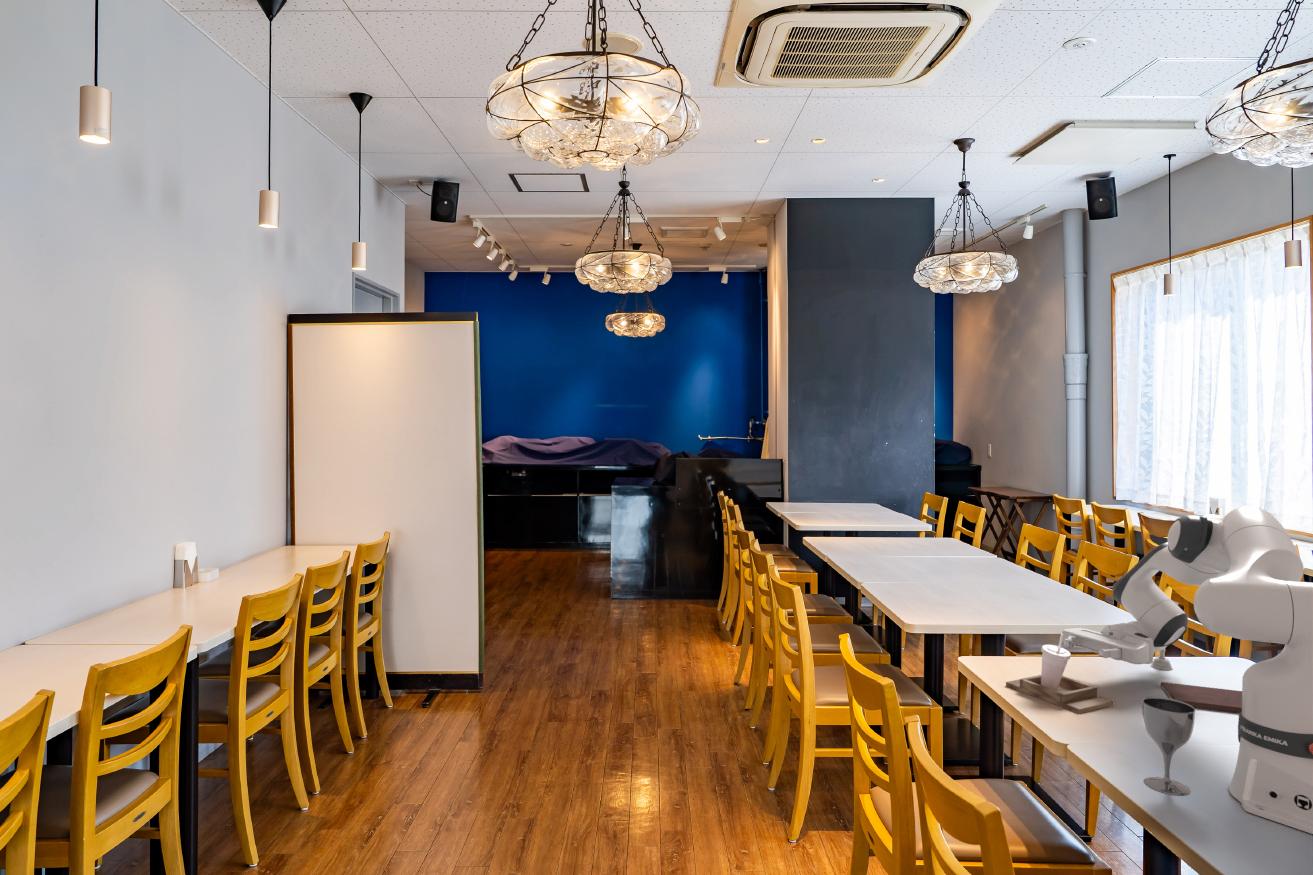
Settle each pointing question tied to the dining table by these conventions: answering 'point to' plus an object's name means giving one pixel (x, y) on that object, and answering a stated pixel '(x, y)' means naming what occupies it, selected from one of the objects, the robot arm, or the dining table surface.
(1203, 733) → the dining table surface
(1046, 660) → the smoothie
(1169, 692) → the notebook
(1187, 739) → the wine glass
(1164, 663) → the chalice
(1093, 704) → the tray
